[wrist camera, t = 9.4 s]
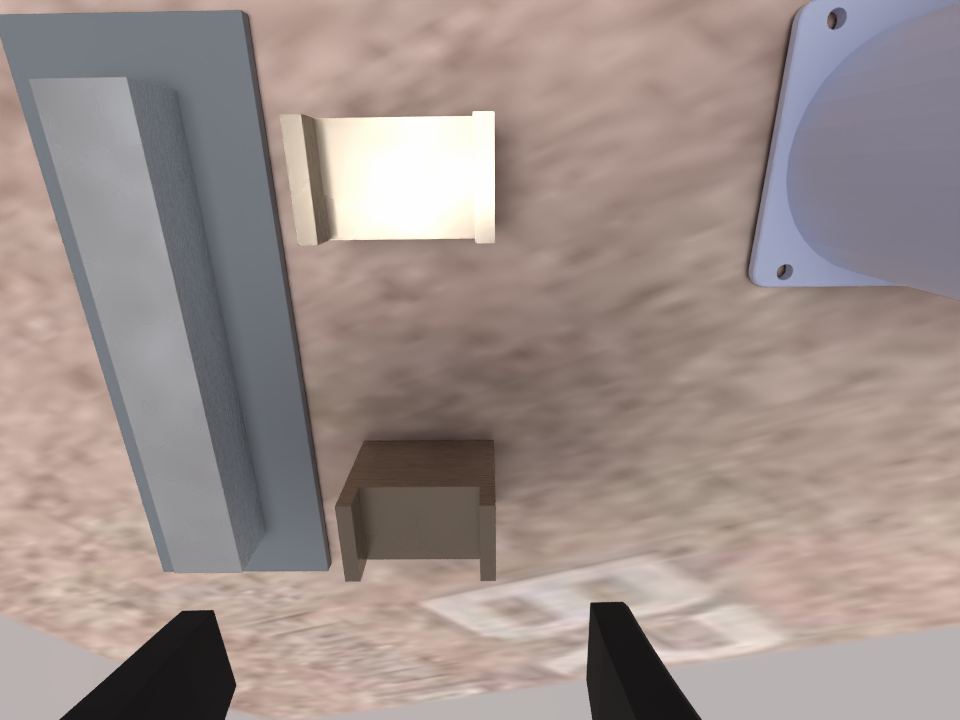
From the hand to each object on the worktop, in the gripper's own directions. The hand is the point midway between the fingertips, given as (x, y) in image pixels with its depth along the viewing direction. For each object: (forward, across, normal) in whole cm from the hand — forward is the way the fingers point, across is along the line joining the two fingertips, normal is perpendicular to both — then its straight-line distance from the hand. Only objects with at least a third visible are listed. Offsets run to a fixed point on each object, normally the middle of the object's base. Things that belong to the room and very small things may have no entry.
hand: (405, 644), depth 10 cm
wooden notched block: (+10, 0, -8) cm, 13 cm away
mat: (+10, +9, -3) cm, 13 cm away
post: (+10, +1, +3) cm, 10 cm away
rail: (+9, +9, -3) cm, 13 cm away
